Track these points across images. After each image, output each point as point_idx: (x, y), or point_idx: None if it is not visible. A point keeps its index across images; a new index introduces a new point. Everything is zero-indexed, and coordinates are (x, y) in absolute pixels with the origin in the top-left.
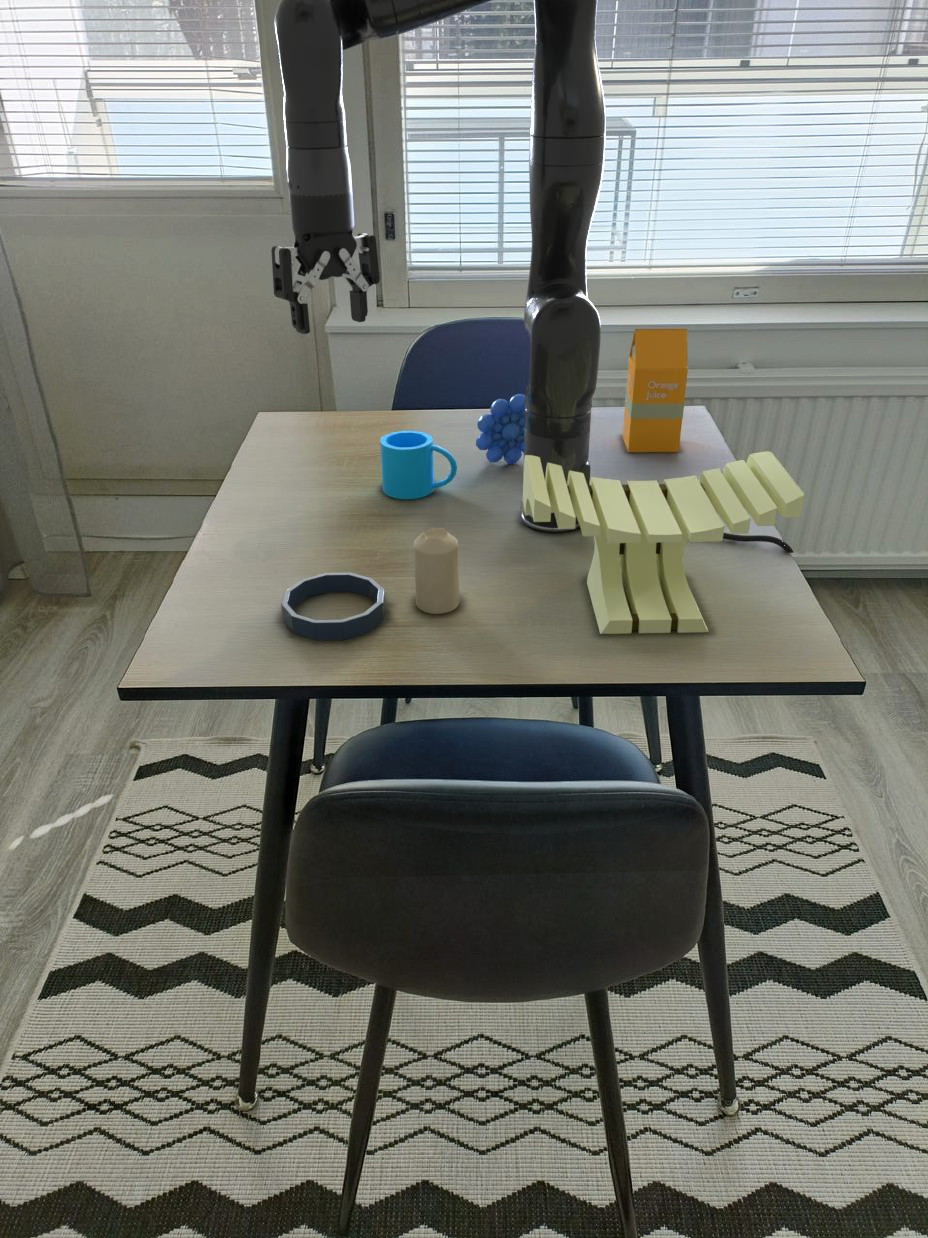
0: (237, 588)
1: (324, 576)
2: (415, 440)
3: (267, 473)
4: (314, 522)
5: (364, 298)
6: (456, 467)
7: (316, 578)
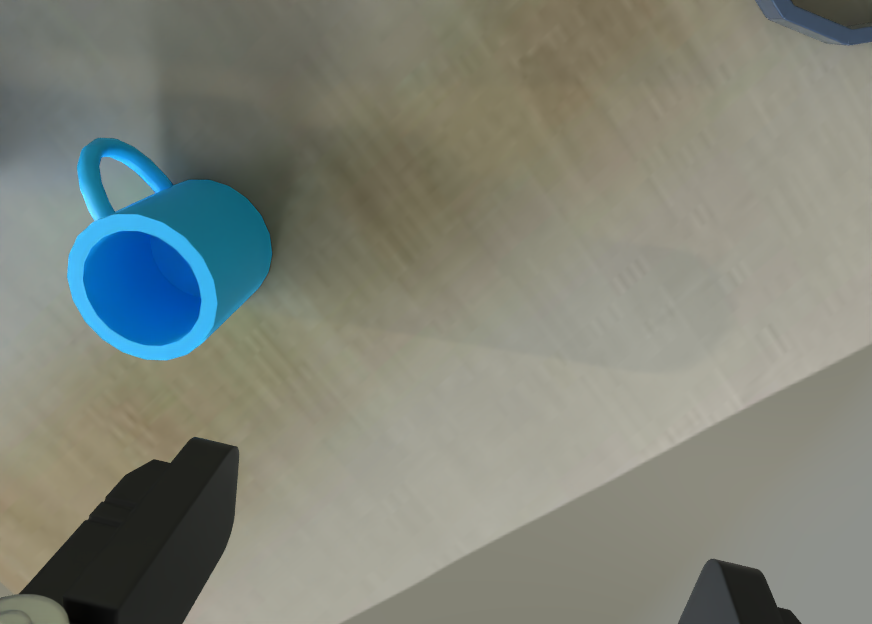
0: (865, 210)
1: (797, 7)
2: (103, 294)
3: (369, 543)
4: (491, 301)
5: (82, 562)
6: (96, 139)
7: (819, 16)
